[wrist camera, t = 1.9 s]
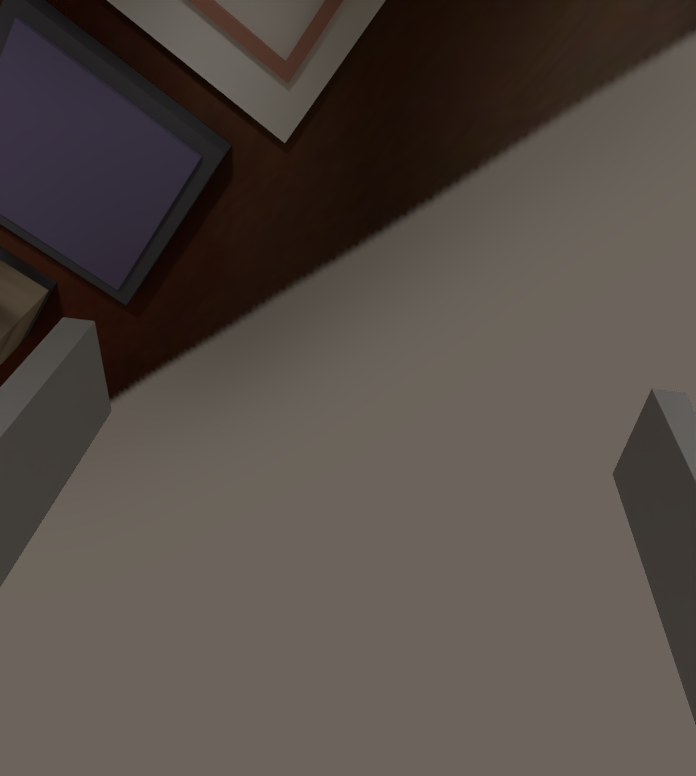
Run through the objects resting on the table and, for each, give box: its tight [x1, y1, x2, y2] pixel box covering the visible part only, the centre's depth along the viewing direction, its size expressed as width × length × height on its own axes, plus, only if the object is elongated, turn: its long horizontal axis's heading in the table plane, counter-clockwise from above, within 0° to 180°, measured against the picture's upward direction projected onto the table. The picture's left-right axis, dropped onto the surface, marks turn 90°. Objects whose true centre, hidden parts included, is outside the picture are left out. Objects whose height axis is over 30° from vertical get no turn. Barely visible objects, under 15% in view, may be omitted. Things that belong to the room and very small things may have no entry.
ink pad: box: [0, 0, 232, 305], centre depth 32 cm, size 11×11×2 cm
